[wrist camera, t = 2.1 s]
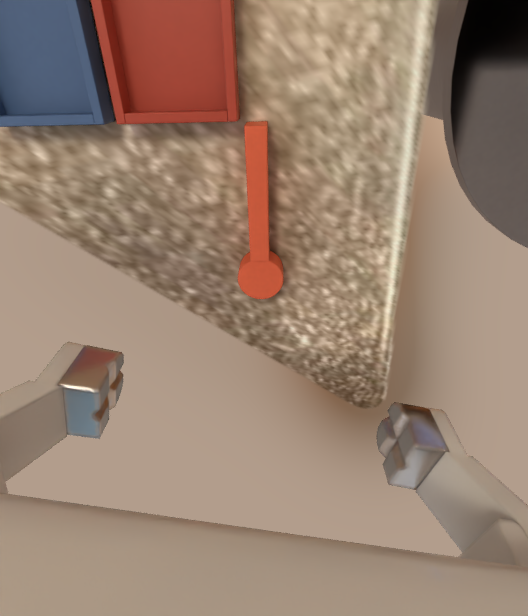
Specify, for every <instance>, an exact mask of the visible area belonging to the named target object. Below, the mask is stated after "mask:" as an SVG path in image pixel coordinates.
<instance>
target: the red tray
mask: <svg viewBox="0 0 528 616" xmlns="http://www.w3.org/2000/svg"><path fill="white" fill-rule="evenodd" d="M91 4H92V8H93V13H94V18H95V22H96V27H97V32H98V37H99V41H100V46H101V51H102V55H103V60H104V65H105V70H106V74H107V79H108V84H109V88H110V93H111V98H112V103H113V107H114V112H115V117H116V121H117V124H146V123H192V122H228V121H229V122H235V121H238V120H239V119H240V110H239V91H238V71H237V52H236V32H235V13H234V0H91Z"/></svg>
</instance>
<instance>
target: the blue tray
mask: <svg viewBox="0 0 528 616" xmlns="http://www.w3.org/2000/svg"><path fill="white" fill-rule="evenodd" d="M114 121H115V119H114V114H113V110H112V105H111V100H110V96H109V91H108V86H107V81H106V77H105V72H104V67H103V63H102V58H101V53H100V49H99V44H98V39H97V35H96V30H95V25H94V21H93V16H92V11H91V7H90V2H89V0H0V127H10V126H55V125H95V124H96V125H101V124H107V123H110V122H114Z"/></svg>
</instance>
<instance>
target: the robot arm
mask: <svg viewBox="0 0 528 616" xmlns="http://www.w3.org/2000/svg"><path fill="white" fill-rule="evenodd" d="M123 363H124V355H123V353H122V352H117V351H113V350H107V349H103V348H98V347H93V346H88V345H87V346H86V345H81V344H76V343H72V342H67V343H66V344H64V345H63V346H62V347H61V349H60V350H59V351H58V352H57V354H56V355H55V356H54V357H53V359H52V360H51V362H50V363H49V364H48V365H47V367H46V368H45V369H44V370H43V372H42V373H41V374H40V375H39V377H38V378H37V379H36V380H35V381H27V382H25V383H23V384H20V385H18V386H16V387H14V388H12V389H10V390H7V391H5V392H3V393H1V394H0V616H528V505H527V504H526V503H524V502H523V501H522V500H521V499H520V498H519V497H518V496H517V495H515V494H514V493H513V492H512V491H511V490H510V489H509V488H507V487H506V486H505V485H504V484H503V483H502V482H501V481H500V480H499V479H497V478H496V477H495V476H494V475H493V474H492V473H491V472H490V471H488V470H487V469H486V468H485V467H484V466H483V465H482V464H480V463H479V462H478V461H477V460H476V459H475V458H474V457H473V456H468V455H467V453H466V451H465V450H464V448H463V446H462V444H461V442H460V440H459V438H458V436H457V434H456V432H455V430H454V428H453V426H452V424H451V422H450V420H449V419H448V417H447V415H446V413H445V412H444V411H443V410H439V409H433V408H425V407H420V406H414V405H408V404H403V403H396V402H395V403H393V404H392V405H391V406H390V408H389V409H388V413H389V417H387V418H385V419H384V420H382V422H381V423H380V425H379V427H378V431H377V445H378V449H379V451H380V453H381V454H382V455H383V456H384V457H385V458H386V459H385V461H384V463H383V467H384V470H385V474H386V477H387V481H388V484H389V485H394V486H399V487H404V488H410V489H414V490H416V493H417V494H418V495H419V496H420V498H421V499H422V500H423V502H424V503H425V504H426V506H427V507H428V508H429V509H430V511H431V512H432V513H433V515H434V516H435V517H436V519H437V520H438V521H439V523H440V524H441V525H442V526H443V528H444V529H445V530H446V532H447V533H448V534H449V536H450V537H451V538H452V539H453V541H454V542H455V543H456V545H457V546H458V547H459V549H460V550H461V551H462V554H461V555H460V556H459V557H452V556H445V555H438V554H431V553H424V552H417V551H410V550H403V549H396V548H389V547H381V546H374V545H366V544H360V543H353V542H346V541H338V540H331V539H323V538H317V537H310V536H302V535H295V534H288V533H281V532H273V531H266V530H260V529H252V528H246V527H238V526H232V525H224V524H218V523H210V522H203V521H196V520H189V519H182V518H175V517H168V516H160V515H153V514H147V513H139V512H132V511H125V510H118V509H111V508H104V507H97V506H90V505H83V504H76V503H68V502H61V501H53V500H47V499H40V498H33V497H26V496H18V495H12V494H8V491H7V487H6V483H5V482H6V481H7V480H9V479H10V478H11V477H13V476H14V475H15V474H17V473H18V472H19V471H21V470H22V469H23V468H25V467H26V466H27V465H29V464H30V463H32V462H33V461H34V460H36V459H37V458H38V457H40V456H41V455H42V454H44V453H45V452H46V451H48V450H49V449H51V448H52V447H53V446H54V445H56V444H57V443H59V442H60V441H61V440H63V439H64V438H65V437H67V435H75V436H82V437H90V438H100V437H101V435H102V433H103V431H104V429H105V427H106V425H107V423H108V420H109V410H111V409H112V408H114V407H115V406H116V404H117V401H118V399H119V396H120V393H121V390H122V384H123V374H122V373H121V371H120V369H121V367H122V365H123Z"/></svg>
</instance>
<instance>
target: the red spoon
mask: <svg viewBox="0 0 528 616" xmlns="http://www.w3.org/2000/svg"><path fill="white" fill-rule="evenodd" d="M244 131H245V152H246V174H247V196H248V217H249V239H250V252H249V253H247V254H246V255H245V256H244V257H243V259H242V261H241V263H240V268H239V273H238V283H239V286H240V288H241V289H242V291H243V292H244V293H245V294H247V295H248V296H250V297H252V298H256V299H267V298H270V297H272V296H274V295H275V294H277V293H278V292H279V290H280V289H281V287H282V285H283V264H282V262H281V260H280V258H279V257H278V256H277V255H276V254H275V253H273V252H272V251H269V249H270V246H269V181H268V122H267V121H258V122H247V123H246V124H245V126H244Z"/></svg>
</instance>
